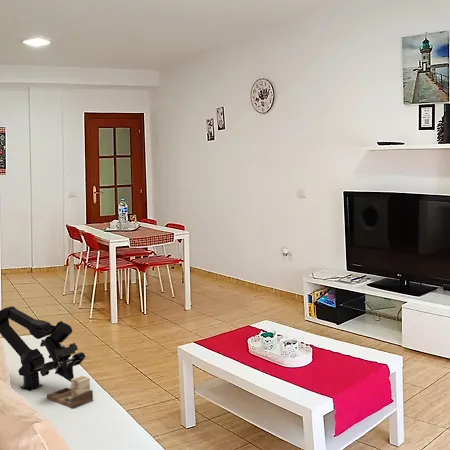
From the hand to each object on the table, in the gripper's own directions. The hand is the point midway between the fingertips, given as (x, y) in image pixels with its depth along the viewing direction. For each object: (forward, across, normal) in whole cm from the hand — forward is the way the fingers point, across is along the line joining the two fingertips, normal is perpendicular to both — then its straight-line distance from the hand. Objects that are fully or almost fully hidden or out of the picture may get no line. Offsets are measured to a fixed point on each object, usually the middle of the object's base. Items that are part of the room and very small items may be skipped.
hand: (72, 381), depth 229 cm
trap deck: (+5, -2, +5) cm, 7 cm away
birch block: (+7, 0, 0) cm, 7 cm away
